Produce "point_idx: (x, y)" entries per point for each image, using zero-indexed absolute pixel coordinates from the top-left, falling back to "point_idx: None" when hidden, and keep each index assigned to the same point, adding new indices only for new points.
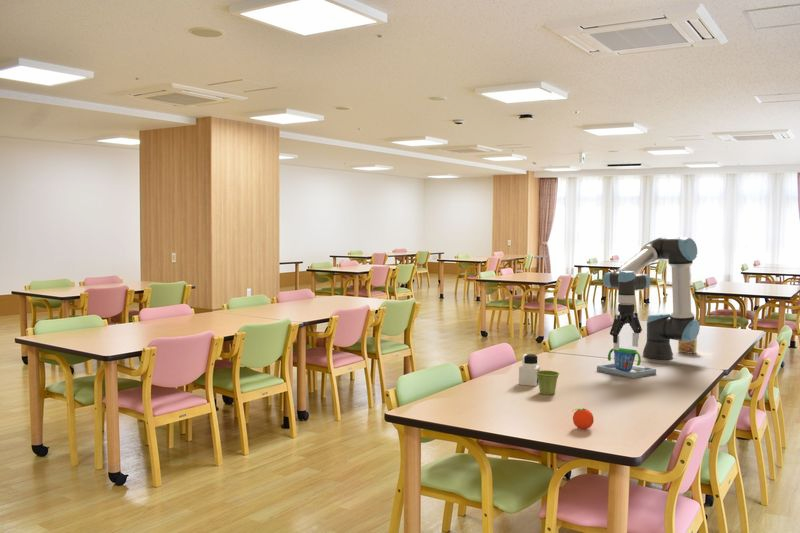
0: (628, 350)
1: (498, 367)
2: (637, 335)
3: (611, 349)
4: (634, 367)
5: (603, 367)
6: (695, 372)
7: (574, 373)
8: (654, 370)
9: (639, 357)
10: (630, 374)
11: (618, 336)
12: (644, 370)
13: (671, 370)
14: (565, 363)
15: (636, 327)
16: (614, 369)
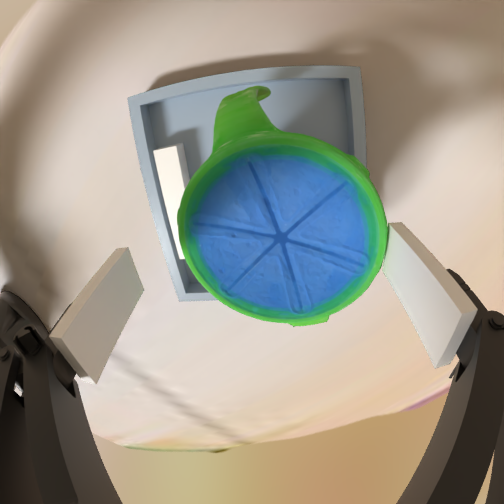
0: (342, 152)
1: None
2: (69, 319)
3: (328, 318)
4: None
5: None
6: (6, 105)
7: None
8: (144, 93)
9: (243, 90)
10: (357, 72)
11: (475, 308)
12: (219, 84)
13: (42, 156)
14: (329, 385)
15: (34, 408)
16: None
